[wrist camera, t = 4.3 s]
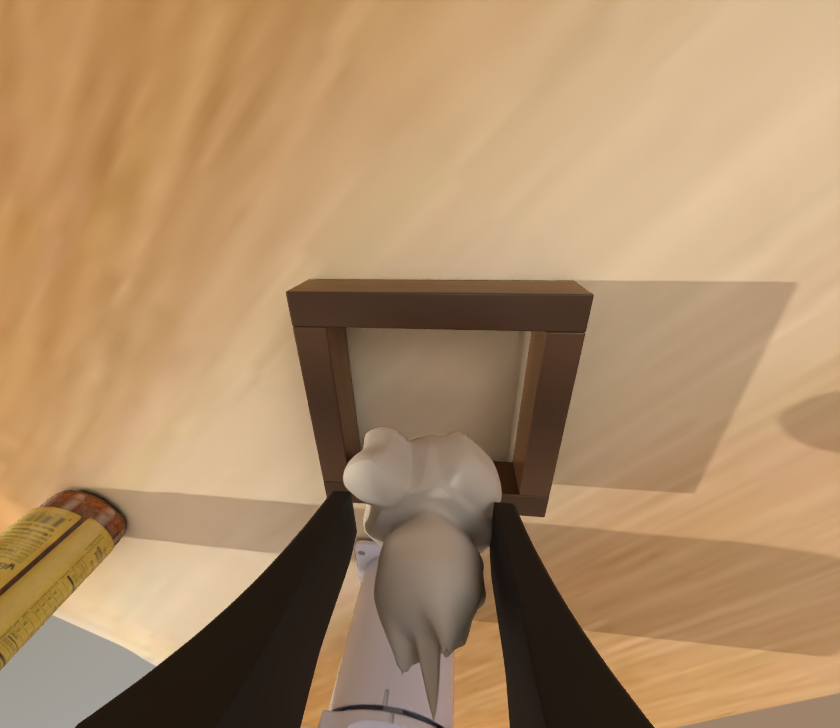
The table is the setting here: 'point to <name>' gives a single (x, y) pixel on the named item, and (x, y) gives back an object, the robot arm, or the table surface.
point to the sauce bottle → (50, 561)
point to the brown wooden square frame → (445, 309)
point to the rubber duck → (426, 540)
